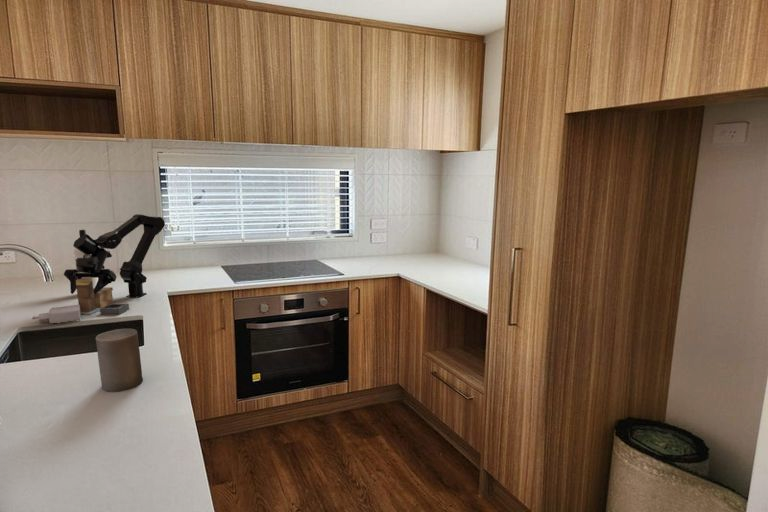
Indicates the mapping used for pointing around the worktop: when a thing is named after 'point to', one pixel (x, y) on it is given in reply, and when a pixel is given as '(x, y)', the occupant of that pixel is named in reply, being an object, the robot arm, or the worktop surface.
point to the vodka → (81, 255)
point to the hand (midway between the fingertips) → (83, 293)
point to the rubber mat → (91, 311)
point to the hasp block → (114, 309)
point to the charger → (61, 314)
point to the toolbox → (103, 297)
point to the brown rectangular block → (85, 294)
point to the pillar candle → (119, 359)
